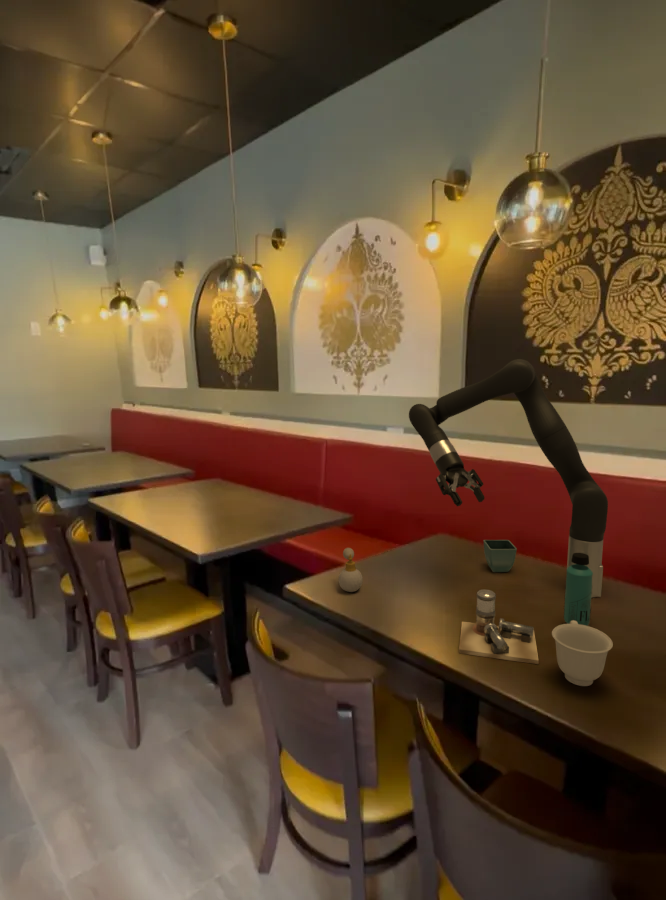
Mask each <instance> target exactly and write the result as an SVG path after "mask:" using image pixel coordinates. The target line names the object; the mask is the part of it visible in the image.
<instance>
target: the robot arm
mask: <svg viewBox="0 0 666 900" xmlns="http://www.w3.org/2000/svg"><path fill="white" fill-rule="evenodd" d="M509 394H514V396H515V397H516V399H517V400H518V401H519V403H520V405H521V407H522V409H523V410H524V413H525V417H526V419H527V422H528V426H529V428H530V430H531V433H532V436H533V437H534V439H535V441H536V443H537V445H538V446H539V448H540V450H541V452H542V453H543V454H544V456H545V457H546V459H547V460H548V462H549V463H550V465H552V467H553V468H554V469H555V470H556V471H557V473H558V474H559V476H560V477H561V481H562V482H563V484H564V486H565V488H566V491H567V493H568V496H569V499H570V503H571V504H572V506H571V507H572V509H571V522H570V526H569V530H568V531H569V533H568V545H567V546H568V547H567V548H568V549H567V562H566V564H567V565H566V569H567V568H568V567H569V566H571V565H573V564H574V563H573V562H572V561H571V560H572V555H573V553H584V554H587V555H588V556H589V564H588V565H585V566H587V567H588V568H590V569H591V571H592V572H593V575H592V583H593V584H592V586H593V587H592V595H591V599H592V598H596V597H597V598H601V597H602V585H603V574H604V565H603V564H602V561H603V548H604V547H603V546H604V538H605V536H604V535H605V533H606V530H607V523H608V522H607V521H608V509H609V501H608V497H607V494H606V493H605V492H604V490H603V489H602V488H601V487H600V486H599V485H598V483H597V482H596V481H595V479H594V478H593V477H592V475H591V474H590V472H589V471H588V469H587V467H586V466H585V464H584V462H583V461H582V458H581V455H580V451H579V448H578V447H577V444H576V442H575V439H574V438H573V436H572V434H571V431H570V430H569V428H568V427H567V425H566V424H565V422H564V420H563V418H562V416H560V414H559V412H558V411H557V409H556V408H555V406H553V404H552V403H551V401H550V400H549V398H548V397H547V395H546V393H545V392H544V389H543V387H542V385H541V383H540V380H539V378H538V376H537V373H536V370H535V367H534V366H533V365H532V363H530V362H529V360H525V359H524V358H522V359H521V358H517V359H513V360H511V361H509V362H508V363H507V364H505V365H504V366H503V368H500V369H499V370H498V371H496V372H495V373H493V374H492V375H490V376H488V377H486V378H484V379H482V380H480V381H478V382H476V383H473V384H470V385H467V386H464V387H461V388H459V389H456V390H454V391H452V392H450V393H447V394H445V395H443V396H441V397H439V398H437V400H436V402H435V403H436V404H435V405H434V406H432V407H428V406H427V405H425V404H424V403H423V404H422V403H416V404H414V405H412V406H411V407H410V408H409V412H408V419H409V421H410V423H411V425H412V427H413V428H414V430H415V431H416V433H417V434H418V435H419V436H420V438H421V439H422V441H423V443H424V445H425V446H426V448H427V450H428V452H429V454H430V456H431V459H432V461H433V463H434V464H435V466H436V468H437V470H438V472H439V475H438V476H437V477H436V478H435V481H436V483H437V485H438V488H439V489H440V491H441V493H442V495H443V496H446V495H448V496H449V497H450V498H451V500H452V502H453V504H454V505H456V507H460V506H461V505H462V504H463V500H462V499H461V497H460V495H459V493H458V492H457V489H458V488H459V487H460V488H466V489H469V490H471V491H472V492H473V494H474V497H475V498H476V500H477V501H478V503H483V501H485V495H484V493H483V491H482V489H481V488H482V486H484V482H483V481H482V479H481V477H480V476H479V475H478V473H477V471H476V470H475V469H474V468H472V469H471V470H468V471H467V470H466V469H465V468H464V467H465V466H464V461H463V460H462V459H461V457H460V455H459V453H458V452H457V450H456V448H455V446H454V445H453V443H451V441H450V439H449V437H448V436H447V434H446V433H445V431H444V430H443V428H442V427H440V425H441V424H443V423H444V422H446V421H447V420H448V419H449V418H451V417H452V418H453V417H454V416H456V415H459V414H461V413H464V412H466V411H468V410H470V409H473V408H474V407H476V406H478V405H481V404H482V403H485V402H488V401H489V400H490V401H491V400H492V399H493V400H494V399H495V398H499V397H502V396H505V395H506V396H507V395H509Z"/></svg>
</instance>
